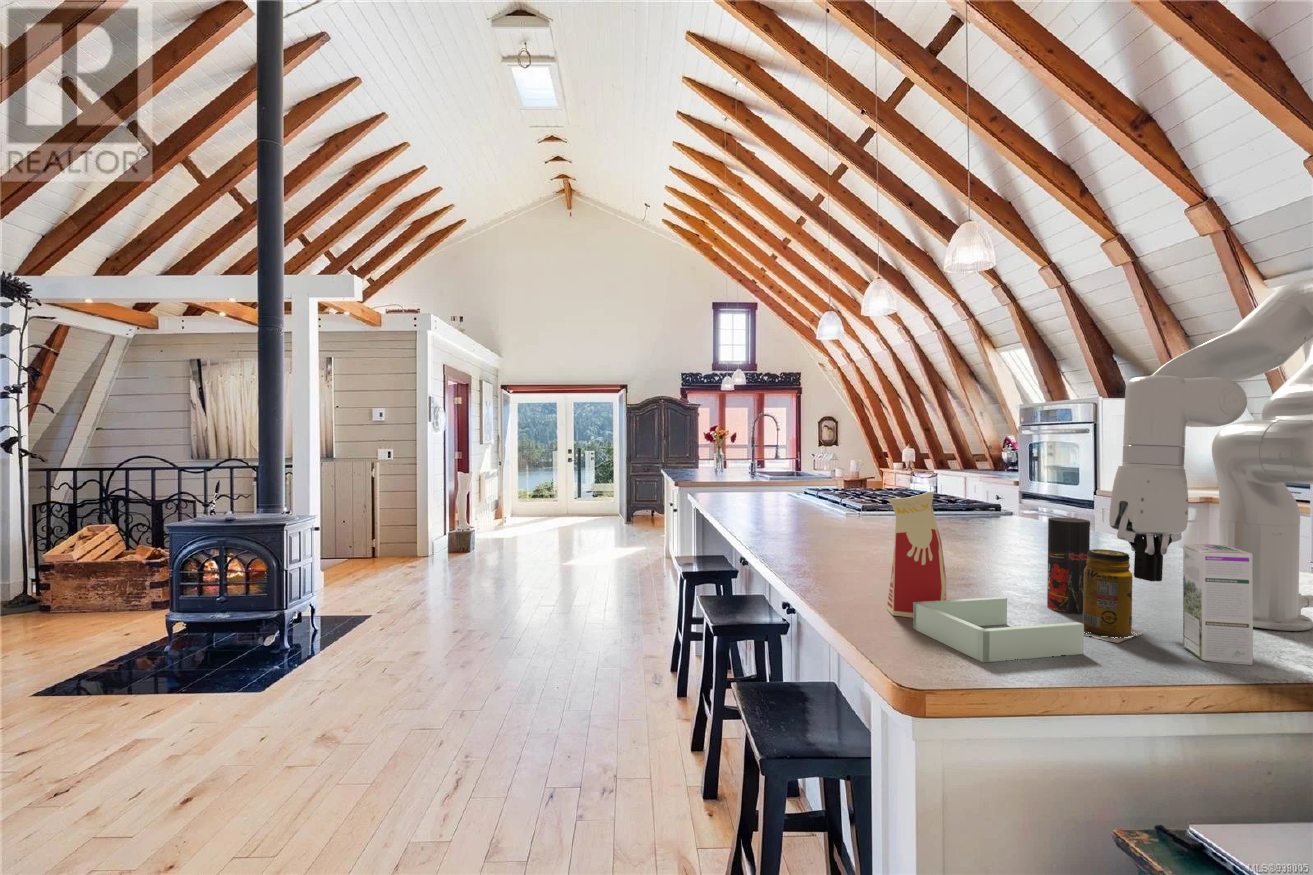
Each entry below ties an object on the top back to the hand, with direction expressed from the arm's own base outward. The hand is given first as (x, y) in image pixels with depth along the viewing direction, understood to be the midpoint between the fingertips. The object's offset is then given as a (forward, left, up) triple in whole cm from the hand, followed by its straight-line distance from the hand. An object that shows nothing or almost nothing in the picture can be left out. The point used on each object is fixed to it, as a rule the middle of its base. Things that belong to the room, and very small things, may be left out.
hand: (1147, 579), depth 101 cm
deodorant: (+3, -12, -8) cm, 14 cm away
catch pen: (+27, 0, -8) cm, 28 cm away
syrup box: (+3, +12, -8) cm, 14 cm away
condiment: (+8, 0, -8) cm, 11 cm away
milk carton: (+29, -16, -8) cm, 34 cm away
